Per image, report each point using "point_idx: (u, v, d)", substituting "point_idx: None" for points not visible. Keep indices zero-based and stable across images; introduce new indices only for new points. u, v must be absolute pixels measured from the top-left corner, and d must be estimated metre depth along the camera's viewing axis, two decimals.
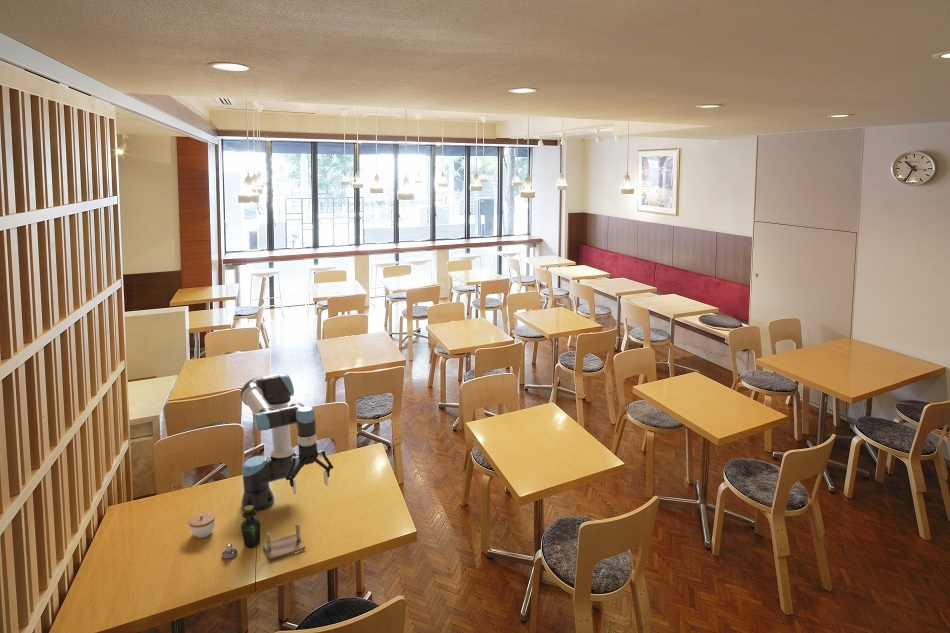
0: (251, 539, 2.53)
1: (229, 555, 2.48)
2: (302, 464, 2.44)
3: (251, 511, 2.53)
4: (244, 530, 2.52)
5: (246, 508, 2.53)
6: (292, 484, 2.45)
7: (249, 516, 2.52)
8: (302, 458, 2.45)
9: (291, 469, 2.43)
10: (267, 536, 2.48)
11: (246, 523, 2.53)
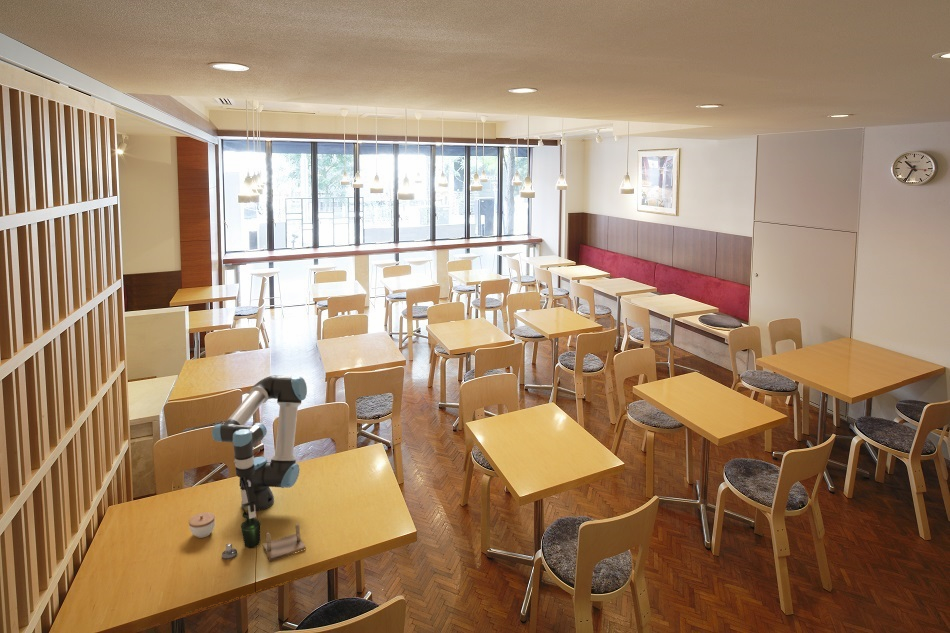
0: (251, 539, 2.53)
1: (229, 555, 2.48)
2: (240, 481, 2.52)
3: None
4: (244, 530, 2.52)
5: (246, 508, 2.53)
6: None
7: None
8: None
9: None
10: (267, 536, 2.48)
11: (246, 523, 2.53)
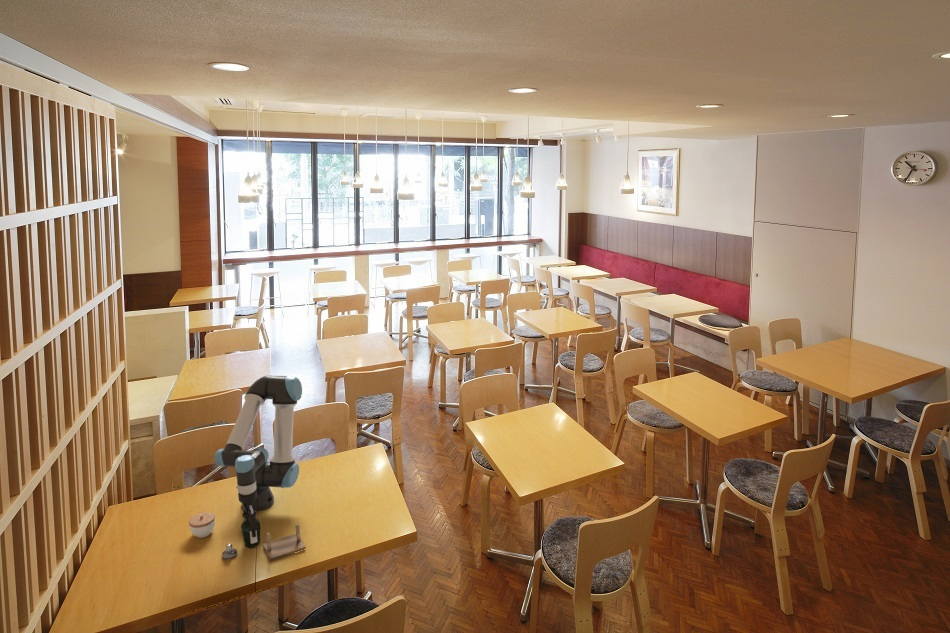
0: None
1: (229, 555, 2.48)
2: (243, 507, 2.55)
3: None
4: (244, 530, 2.52)
5: None
6: None
7: None
8: None
9: (243, 507, 2.59)
10: (267, 536, 2.48)
11: (246, 523, 2.53)
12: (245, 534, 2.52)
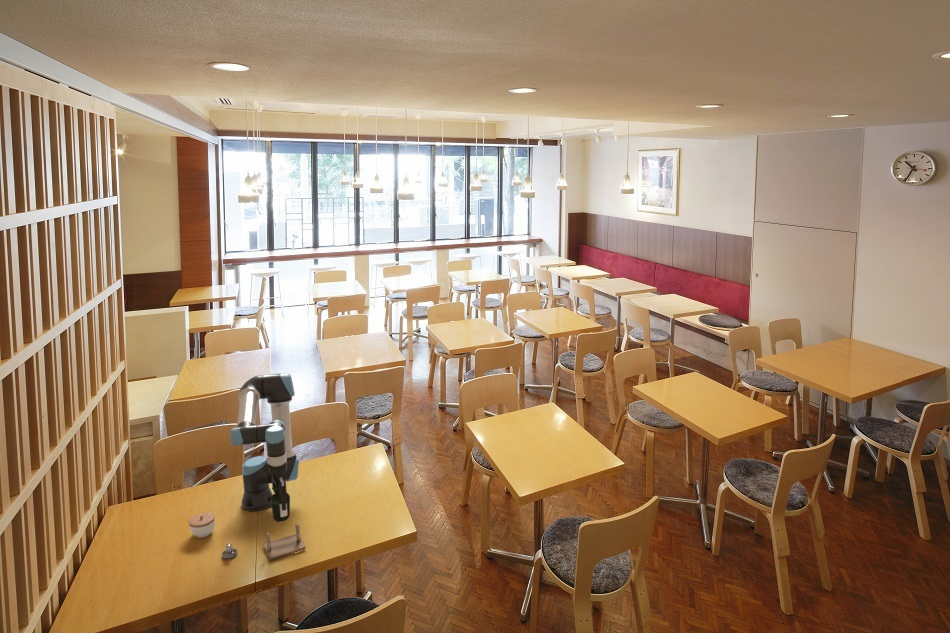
0: None
1: (229, 555, 2.48)
2: (273, 480, 2.48)
3: None
4: (274, 503, 2.45)
5: None
6: None
7: None
8: None
9: (272, 480, 2.52)
10: (267, 536, 2.48)
11: (276, 496, 2.46)
12: (275, 507, 2.46)
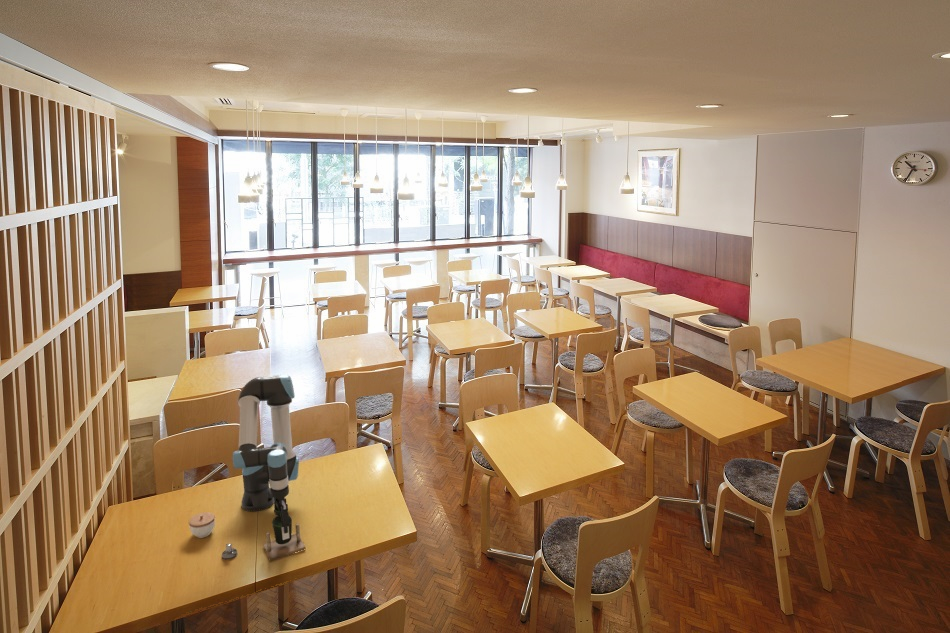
0: None
1: (229, 555, 2.48)
2: (275, 503, 2.51)
3: None
4: (276, 526, 2.48)
5: None
6: None
7: None
8: None
9: (274, 502, 2.54)
10: (267, 536, 2.48)
11: (278, 519, 2.49)
12: (277, 530, 2.48)
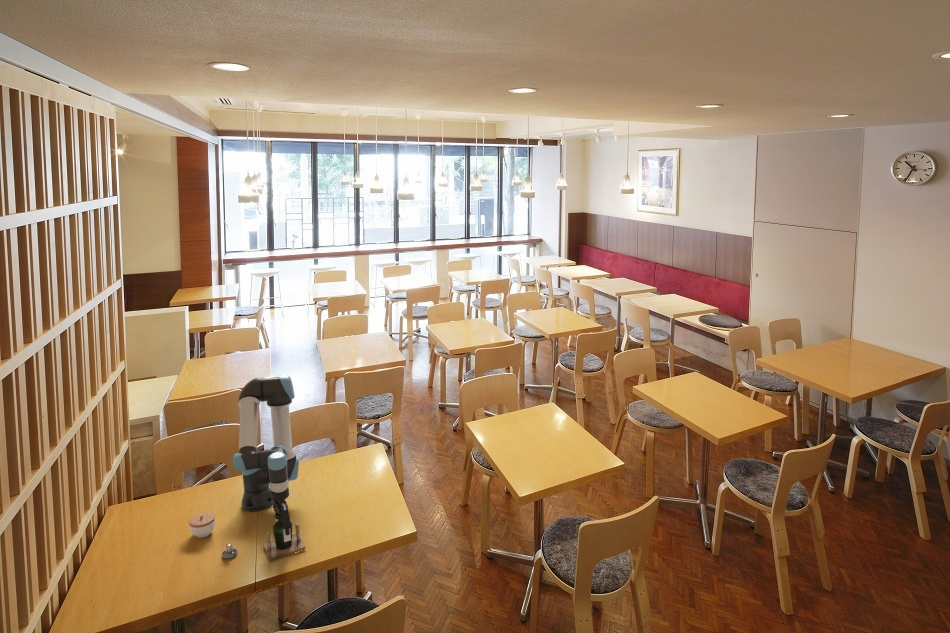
0: (283, 540, 2.50)
1: (229, 555, 2.48)
2: (274, 503, 2.51)
3: None
4: (276, 531, 2.48)
5: None
6: None
7: None
8: None
9: (273, 501, 2.56)
10: (267, 536, 2.48)
11: (278, 524, 2.50)
12: (277, 535, 2.49)
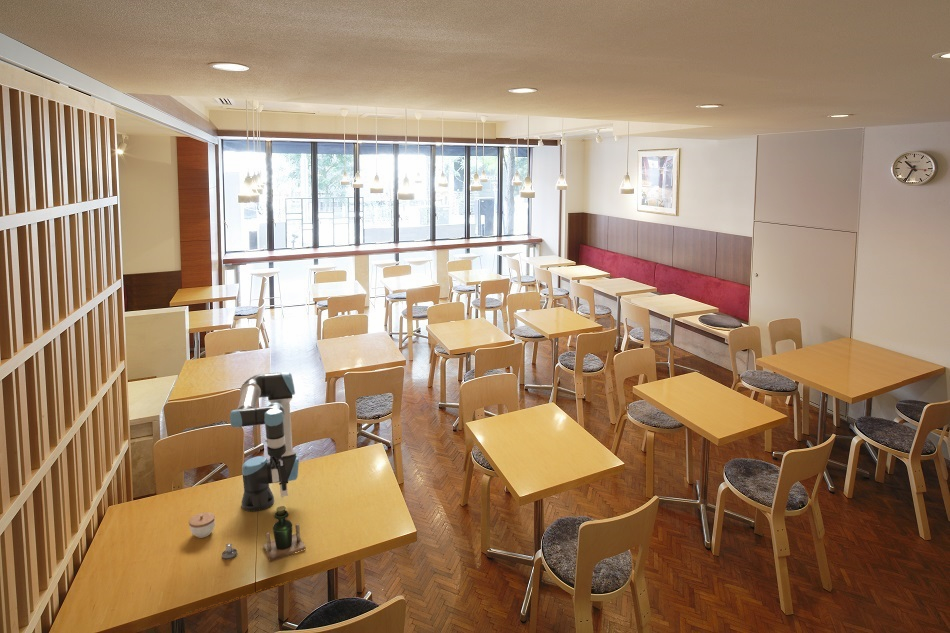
0: (283, 540, 2.50)
1: (229, 555, 2.48)
2: (271, 460, 2.53)
3: (283, 512, 2.49)
4: (276, 531, 2.48)
5: (278, 509, 2.49)
6: None
7: (282, 517, 2.48)
8: None
9: (270, 458, 2.57)
10: (267, 536, 2.48)
11: (278, 524, 2.50)
12: (277, 535, 2.49)
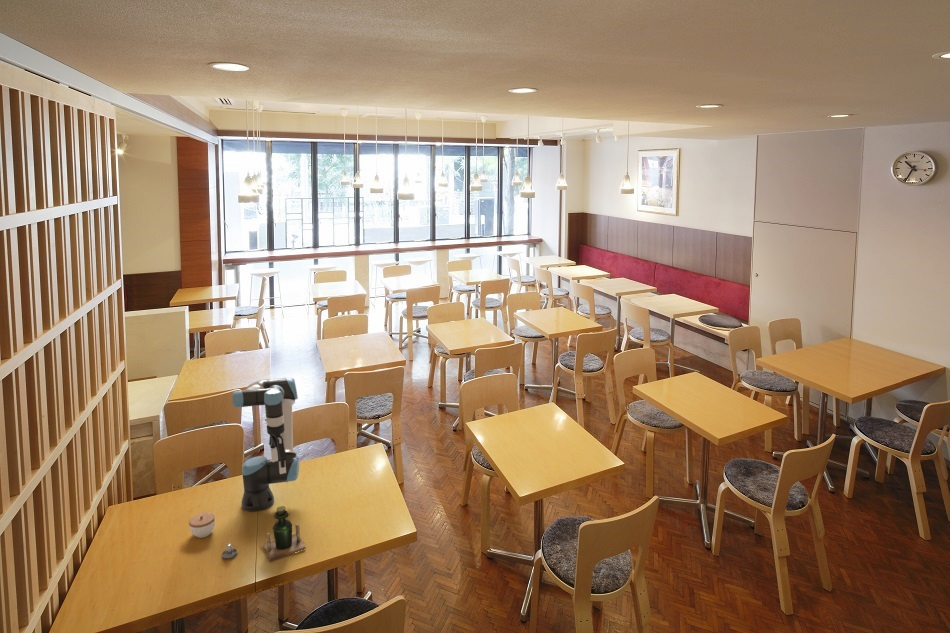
0: (283, 540, 2.50)
1: (229, 555, 2.48)
2: (271, 439, 2.65)
3: (283, 512, 2.49)
4: (276, 531, 2.48)
5: (278, 509, 2.49)
6: None
7: (282, 517, 2.48)
8: None
9: None
10: (267, 536, 2.48)
11: (278, 524, 2.50)
12: (277, 535, 2.49)
